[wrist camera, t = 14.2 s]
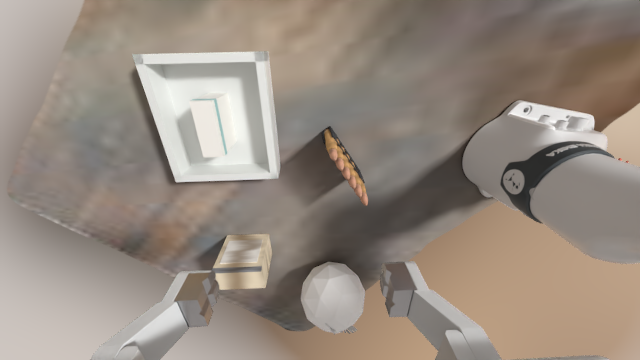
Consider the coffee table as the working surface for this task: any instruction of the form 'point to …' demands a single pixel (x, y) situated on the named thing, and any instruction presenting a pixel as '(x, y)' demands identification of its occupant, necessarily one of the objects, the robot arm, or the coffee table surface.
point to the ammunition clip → (345, 163)
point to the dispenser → (243, 262)
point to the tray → (245, 103)
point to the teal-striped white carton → (213, 123)
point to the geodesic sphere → (333, 297)
